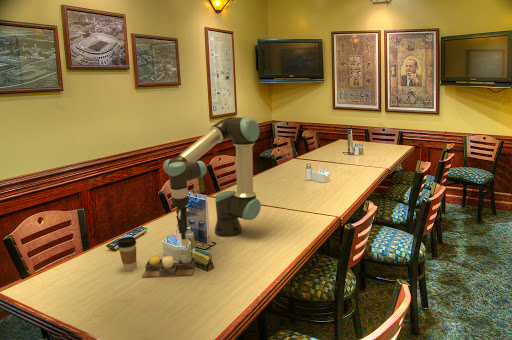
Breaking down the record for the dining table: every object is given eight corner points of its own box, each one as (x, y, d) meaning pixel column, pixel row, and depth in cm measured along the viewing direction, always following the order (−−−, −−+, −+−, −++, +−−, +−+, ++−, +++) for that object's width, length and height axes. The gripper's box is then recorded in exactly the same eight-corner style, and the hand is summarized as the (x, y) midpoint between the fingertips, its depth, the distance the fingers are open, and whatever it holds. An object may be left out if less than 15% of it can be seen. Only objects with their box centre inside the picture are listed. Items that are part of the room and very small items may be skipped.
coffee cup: (117, 269, 210) (113, 240, 207) (132, 262, 217) (128, 234, 213) (128, 274, 205) (124, 244, 202) (143, 266, 212) (139, 237, 208)
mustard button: (161, 262, 211) (160, 255, 210) (159, 267, 206) (158, 259, 205) (150, 263, 211) (150, 255, 210) (148, 268, 206) (147, 260, 205)
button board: (196, 263, 213) (196, 256, 212) (192, 275, 200) (192, 268, 199) (149, 265, 213) (148, 258, 212) (142, 278, 201) (141, 271, 200)
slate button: (192, 261, 210) (191, 253, 209) (191, 266, 205) (190, 258, 204) (182, 262, 210) (181, 254, 209) (180, 266, 206) (179, 258, 205)
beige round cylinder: (174, 263, 206) (174, 255, 205) (172, 268, 201) (172, 260, 200) (164, 264, 206) (163, 256, 205) (161, 268, 201) (161, 260, 200)
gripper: (174, 192, 206) (179, 239, 212) (168, 201, 194) (174, 251, 200) (190, 191, 206) (195, 238, 212) (185, 200, 193) (190, 250, 199)
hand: (185, 244), depth 206 cm, fingers closed
